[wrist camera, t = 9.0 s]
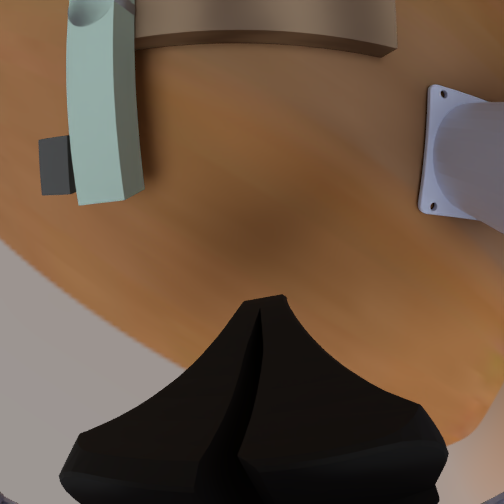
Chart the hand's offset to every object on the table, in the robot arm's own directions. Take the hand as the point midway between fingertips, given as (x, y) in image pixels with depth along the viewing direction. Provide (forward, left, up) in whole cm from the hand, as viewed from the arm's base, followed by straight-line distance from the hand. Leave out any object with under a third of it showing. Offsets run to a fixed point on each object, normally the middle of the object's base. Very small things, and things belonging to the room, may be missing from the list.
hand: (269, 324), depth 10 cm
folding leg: (+8, -8, -7) cm, 13 cm away
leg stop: (+11, -5, -9) cm, 15 cm away
